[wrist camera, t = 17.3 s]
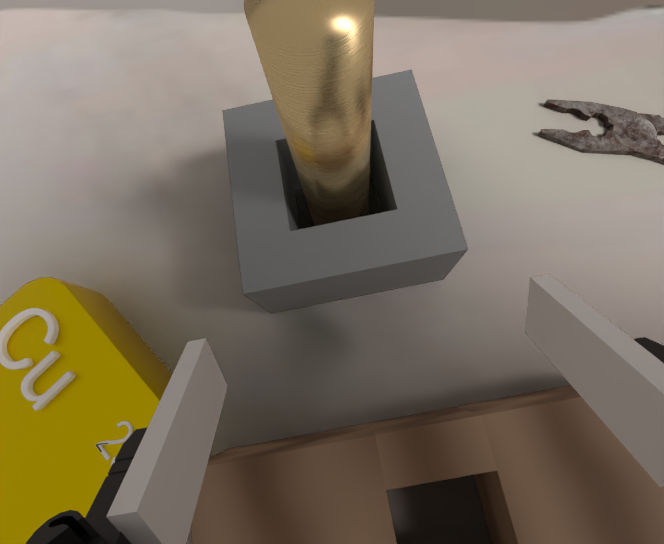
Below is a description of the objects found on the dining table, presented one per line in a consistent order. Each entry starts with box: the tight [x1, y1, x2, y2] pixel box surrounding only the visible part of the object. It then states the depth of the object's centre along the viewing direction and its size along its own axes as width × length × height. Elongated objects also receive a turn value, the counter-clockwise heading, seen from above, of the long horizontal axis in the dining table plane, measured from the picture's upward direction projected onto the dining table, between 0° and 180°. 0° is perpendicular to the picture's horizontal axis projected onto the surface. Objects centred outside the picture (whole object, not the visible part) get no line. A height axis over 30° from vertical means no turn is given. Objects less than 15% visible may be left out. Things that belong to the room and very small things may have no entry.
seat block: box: [223, 70, 468, 313], centre depth 23 cm, size 12×12×6 cm
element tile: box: [0, 277, 172, 544], centre depth 22 cm, size 15×15×5 cm
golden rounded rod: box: [244, 0, 374, 226], centre depth 19 cm, size 4×4×16 cm
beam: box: [191, 386, 664, 544], centre depth 18 cm, size 24×10×5 cm, turn 100°
